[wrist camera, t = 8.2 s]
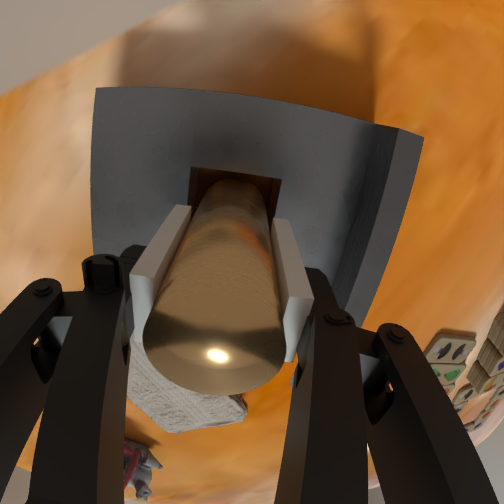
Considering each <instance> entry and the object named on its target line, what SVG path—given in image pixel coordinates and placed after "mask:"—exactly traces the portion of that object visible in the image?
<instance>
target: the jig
mask: <svg viewBox="0 0 504 504" xmlns="http://www.w3.org/2000/svg"><path fill="white" fill-rule="evenodd" d="M423 141H424V137H422V136H419V135H416V134H414V133H411V132H408V131H405V130H402V129H399V128H395V127H390V126H384V125H379V124H374V123H371V122H367V121H364V120H361V119H357V118H353V117H350V116H346V115H342V114H338V113H334V112H330V111H326V110H322V109H318V108H313V107H309V106H304V105H299V104H294V103H289V102H284V101H279V100H273V99H267V98H261V97H255V96H248V95H241V94H233V93H225V92H216V91H206V90H194V89H180V88H159V87H103V88H96V93H95V102H94V112H93V125H92V141H91V177H90V185H91V222H92V239H93V252H94V255H97V254H111V255H115V256H117V257H120V255H121V253H122V252H123V251H124V249H126V248H128V247H130V246H132V245H133V244H135V245H142V246H148V244H149V243H150V241H151V240H152V238H153V237H154V235H155V234H156V232H157V231H158V229H159V228H160V227H161V225H162V224H163V222H164V221H165V219H166V218H167V216H168V215H169V214H170V212H171V211H172V209H173V208H174V207H175V205H176V204H179V205H187V206H191V217H190V223H191V220H192V218H193V216H194V214H195V205H196V196H197V186H198V177H199V168H208V169H216V170H224V171H231V172H238V173H245V174H252V175H259V176H265V177H271V178H274V179H273V185H272V190H271V196H270V201H269V206H268V212H267V219H268V226H269V232H271V227H272V222H273V218H279V219H286V220H289V222H290V225H291V228H292V231H293V234H294V237H295V240H296V243H297V246H298V249H299V252H300V255H301V258H302V262H303V265H304V267H309V268H316V269H320V270H321V271H322V272H323V273H324V274H325V275H326V276H327V279H328V281H329V285H330V286H331V288H332V291H333V293H334V296H335V298H336V301H337V303H338V306H339V308H340V309H343V310H344V311H346V312H348V313H349V314H350V315H351V316H352V317H353V318H354V321H355V324H356V327H359V328H361V326H362V324H363V322H364V320H365V317H366V315H367V313H368V310H369V308H370V306H371V303H372V301H373V299H374V296H375V294H376V291H377V289H378V286H379V284H380V281H381V279H382V276H383V273H384V271H385V268H386V265H387V263H388V260H389V257H390V255H391V252H392V249H393V246H394V243H395V240H396V237H397V234H398V231H399V228H400V225H401V222H402V219H403V216H404V213H405V209H406V206H407V203H408V199H409V196H410V192H411V189H412V185H413V182H414V178H415V174H416V170H417V166H418V162H419V158H420V154H421V150H422V146H423Z"/></svg>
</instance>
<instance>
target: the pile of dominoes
mask: <svg viewBox="0 0 504 504" xmlns="http://www.w3.org/2000/svg"><path fill="white" fill-rule="evenodd" d="M487 337H488V339H487V340H486V341H485V342H484V344H483V346H482V348H481V350H480V352H479V354H478V356H477V359H478V360H477V361H476V362H475V363H474V364H473V365H472V367H471V369H470V371H469V373H468V375H467V377H466V378H467V379H468V381H469V382H470V383H471V384H470V385H467V386H465V387H463V388H461V389H460V390H459V391H458V392H457V394H456V395H455V397H454V399H453V401H452V402H453V403H452V404H453V406H454V408H455V410H456V412H457V413H458V415H460V413H461V412H462V410H463V409H464V407H465V406H466V404H467V403H468V400H469V399H471V398H474V397H476V396H479V395H481V394H484V393H486V392H488V391H491V390H493V389H495V388H497V387H498V389H497V390H496V392H495V393H494V395H493V396H492V398H491V399H490V400H489V402H488V403H487V405H486V406H485V408H484V410H483V411H482V412H481V413H480V414H479V415H478V417H477V418H476V419H475V421H474V422H471V423H468V424H466V425H464V427H465V429H466V431H467V432H472V431H474V430H476V429H478V428H480V427H481V426H482V425H483V424H484V422H485V421H486V420H487V419H488V417H489V416H490V415H491V413H492V412H493V411H494V409H495V406H497V405H498V404H499V403H500V401H501V400H502V398H503V397H504V312H503V313H500V314H498V315H497V316H496V317H495V318H494V321H493V323H492V325H491V328H490V330H489V333H488V335H487ZM475 345H476V340H475V339H474V337H470V336H461V335H453V334H445V333H440V334H438V335H436V336H435V337H434V338H433V339H432V341H431V342H430V344H429V345H428V347H427V348H426V350H425V351H424V352H423V354H424V355H425V357H426V359H427V360H428V362H429V364H430V365H431V367H432V369H433V370H434V372H435V374H436V376H437V377H438V379H439V381H440V383H441V384H442V386H443V388H444V390H445V391H446V393H447V395H449V394H450V392H451V391H452V390H453V389H454V388H455V383H454V382H455V381H456V379H457V378H458V377H459V376H460V375H461V373H462V372H463V371H464V370H465V368H466V364H465V362H464V360H465V359H466V358H467V356H468V355H469V354H470V352H471V351H472V350H473V348H474V347H475Z"/></svg>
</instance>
